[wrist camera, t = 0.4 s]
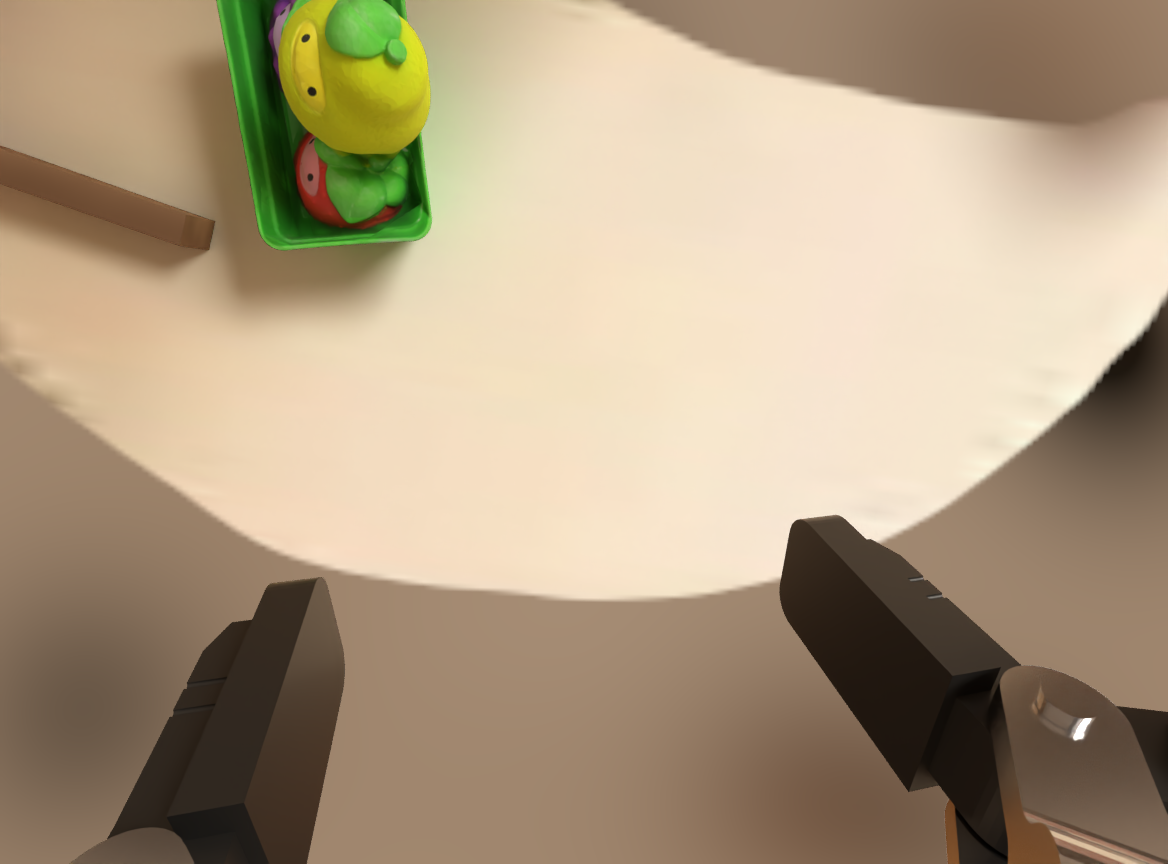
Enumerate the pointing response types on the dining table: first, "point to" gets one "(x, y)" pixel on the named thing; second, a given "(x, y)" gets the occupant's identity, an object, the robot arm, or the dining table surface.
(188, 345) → the dining table surface
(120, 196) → the frame
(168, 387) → the dining table surface
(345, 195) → the fruit basket
